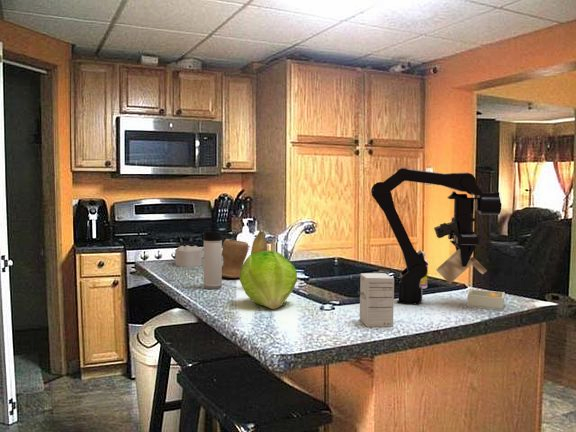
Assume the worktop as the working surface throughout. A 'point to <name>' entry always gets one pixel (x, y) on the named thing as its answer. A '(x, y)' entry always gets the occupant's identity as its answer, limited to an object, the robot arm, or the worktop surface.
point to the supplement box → (376, 299)
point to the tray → (485, 300)
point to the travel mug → (212, 260)
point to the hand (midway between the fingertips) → (462, 265)
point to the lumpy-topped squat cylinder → (188, 256)
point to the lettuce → (268, 278)
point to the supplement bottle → (424, 279)
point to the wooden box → (457, 267)
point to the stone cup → (233, 257)
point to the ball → (492, 295)
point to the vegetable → (259, 243)
